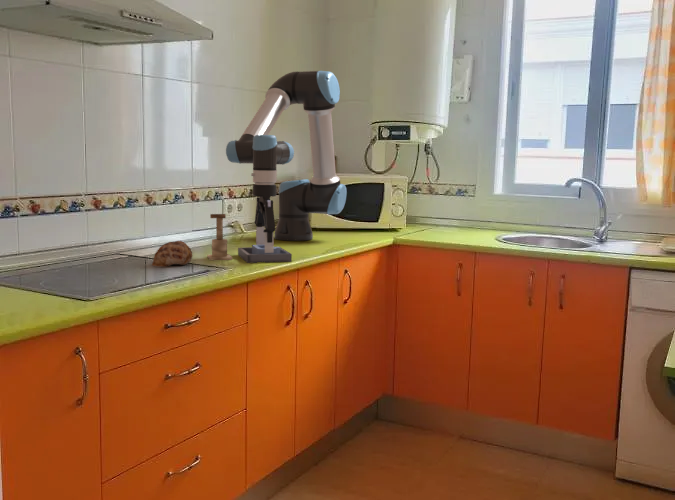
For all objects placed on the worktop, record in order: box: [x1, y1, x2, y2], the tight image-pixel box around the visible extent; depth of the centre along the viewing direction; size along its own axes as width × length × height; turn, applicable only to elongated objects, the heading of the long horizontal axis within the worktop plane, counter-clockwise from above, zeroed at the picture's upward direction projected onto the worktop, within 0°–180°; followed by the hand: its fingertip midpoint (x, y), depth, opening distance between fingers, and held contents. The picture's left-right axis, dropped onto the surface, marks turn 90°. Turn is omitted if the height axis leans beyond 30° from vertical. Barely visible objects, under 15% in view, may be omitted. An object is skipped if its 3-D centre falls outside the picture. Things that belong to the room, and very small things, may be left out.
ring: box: [251, 244, 282, 254], centre depth 234 cm, size 10×8×3 cm
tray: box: [237, 246, 293, 264], centre depth 234 cm, size 14×17×2 cm
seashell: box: [151, 240, 193, 267], centre depth 218 cm, size 10×9×10 cm
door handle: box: [206, 213, 233, 261], centre depth 232 cm, size 7×7×14 cm
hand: (264, 249), depth 234 cm, fingers open, 13 cm apart
